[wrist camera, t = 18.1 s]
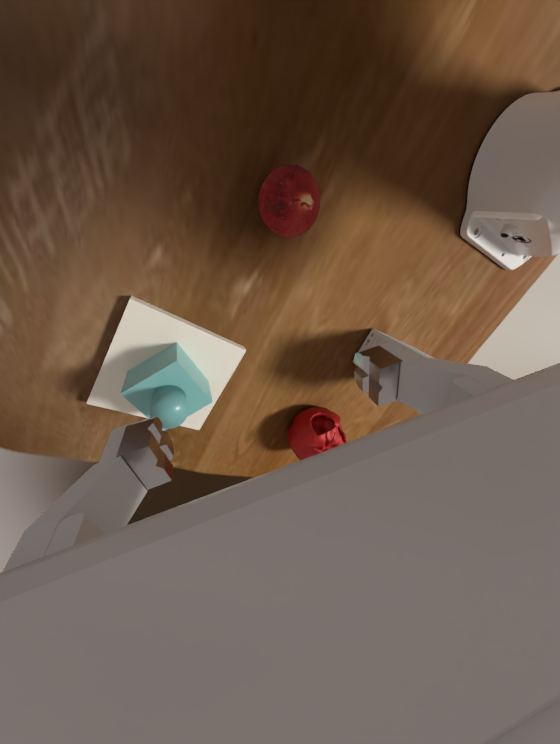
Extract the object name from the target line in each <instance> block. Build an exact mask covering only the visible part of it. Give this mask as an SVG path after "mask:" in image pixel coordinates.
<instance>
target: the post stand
mask: <svg viewBox="0 0 560 744" xmlns="http://www.w3.org/2000/svg"><path fill="white" fill-rule="evenodd" d="M175 343H178V344H179V345H180V347H181V348H182V349H183V350H184V351H185V353H186V354H187V355H188V356H189V358H190V359H191V360H192V361H193V362H194V364H195V365H196V366H197V367H198V369H199V370H200V371H201V372H202V373H203V375H204V376H205V377H206V378H207V380H208V381H209V386H210V391H211V396H212V403H210V404H208V405H207V406H205V407H203V408H202V409H200V410H198V411H197V412H195V413H193V414H192V415H190V416H188V417H187V418H186V420H185V421H184V422H183V423H182V424H181V425H179V426H183V427H188V428H192V429H196V430H200V428H201V426H202V425H203V423H204V421H205V420H206V418H207V416H208V414H209V413H210V411H211V409H212V408H213V406H214V404H215V403H216V401H217V399H218V398H219V396H220V394H221V393H222V391H223V389H224V387H225V386H226V384H227V382H228V381H229V379H230V377H231V376H232V374H233V372H234V371H235V369H236V367H237V365H238V364H239V362H240V360H241V359H242V357H243V355H244V354H245V352H246V349H245V347H244V346H241V345H239V344H237V343H235V342H233V341H230V340H228V339H226V338H224V337H222V336H219V335H217V334H215V333H213V332H211V331H208V330H206V329H204V328H202V327H200V326H197V325H195V324H193V323H191V322H189V321H186V320H184V319H182V318H180V317H178V316H175V315H173V314H171V313H169V312H167V311H164V310H162V309H160V308H158V307H156V306H153V305H151V304H149V303H147V302H145V301H142V300H140V299H138V298H136V297H134V296H131V297H130V299H129V302H128V304H127V307H126V309H125V311H124V314H123V316H122V319H121V321H120V324H119V326H118V328H117V331H116V333H115V336H114V338H113V340H112V343H111V345H110V348H109V350H108V352H107V355H106V357H105V360H104V362H103V364H102V367H101V369H100V372H99V374H98V377H97V379H96V381H95V384H94V386H93V389H92V391H91V393H90V396H89V398H88V401H87V403H86V404H90V405H94V406H98V407H103V408H107V409H111V410H115V411H120V412H124V413H128V414H132V415H137V416H141V417H145V418H147V417H146V416H145V415H144V414H143V413H142V412H140V411H139V410H138V409H137V408H136V407H135V406H133V405H132V404H131V403H130V402H129V401H128V400H127V399H125V398H124V397H123V396H122V395H121V394H120V393H121V390H122V387H123V384H124V381H125V378H126V375H127V372H128V371H129V370H130V369H132V368H134V367H135V366H137V365H139V364H141V363H142V362H144V361H146V360H148V359H149V358H151V357H153V356H154V355H156V354H158V353H160V352H161V351H163V350H165V349H166V348H168V347H170V346H172V345H173V344H175Z"/></svg>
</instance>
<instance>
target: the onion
mask: <svg viewBox="0 0 560 744" xmlns="http://www.w3.org/2000/svg"><path fill="white" fill-rule="evenodd" d="M258 204H259V213H260V215H261V217H262V219H263V221H264V224H265V225H266V226H267V227H268V228H269V229H270V230H271V231H273V232H274V233H275V234H277V235H280V236H283V237H294V236H299V235H301V234H303V233H304V232H306V231H308V230H309V229H310V228H311V226H312V225H313V223H314V222H315V220H316V218H317V215H318V212H319V209H320V193H319V189H318V186H317V182H316V181H315V179H314V178H313V177H312V175H311V174H310V172H309V171H307V170H305V169H303V168H302V167H300V166H298V165H283V166H281V167H278V168H276V169H274V170H272V172H271V173H270V174H269V175H268V177H267V178H266V179H265V180H264V182H263V183H262V186H261V189H260V192H259V195H258Z"/></svg>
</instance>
